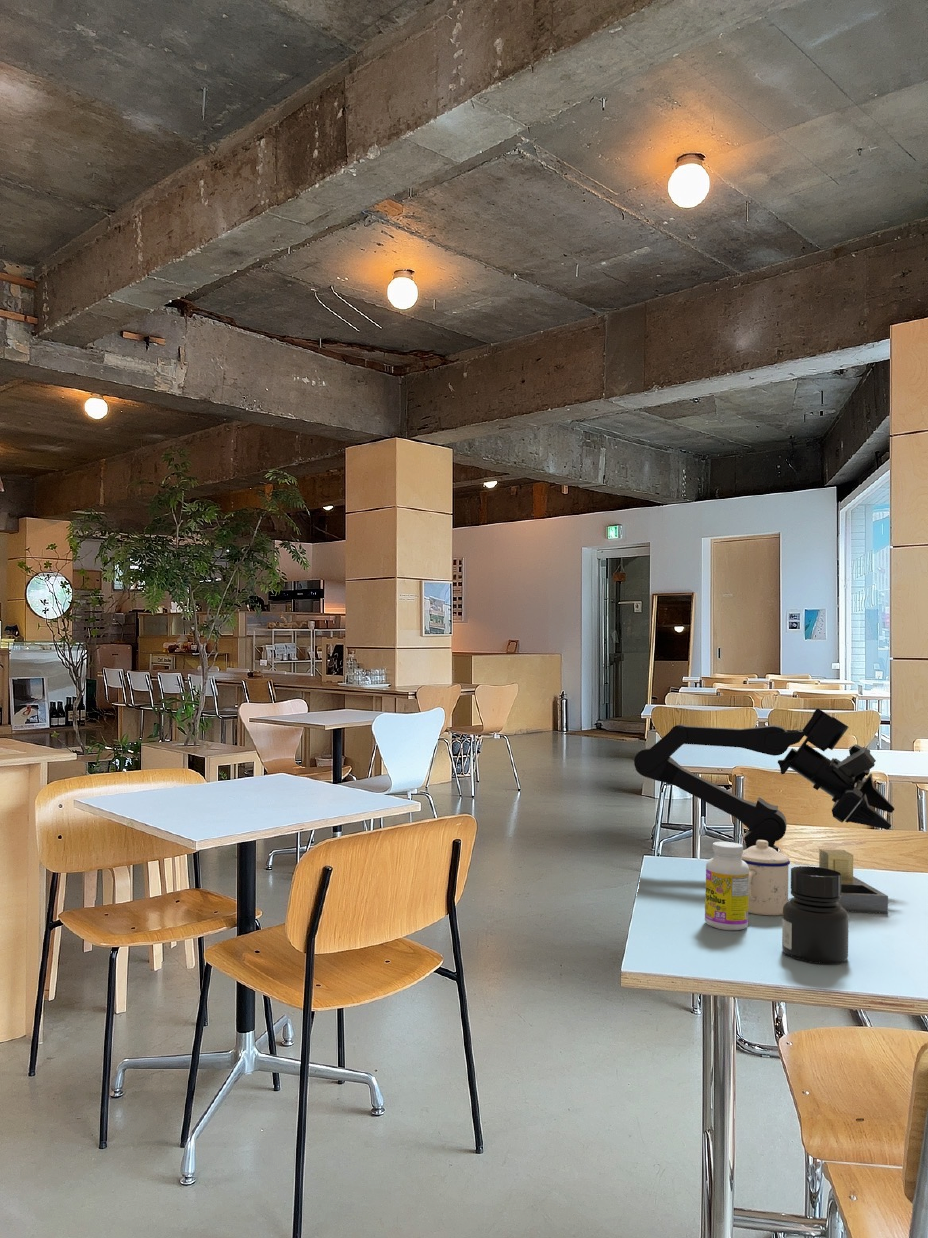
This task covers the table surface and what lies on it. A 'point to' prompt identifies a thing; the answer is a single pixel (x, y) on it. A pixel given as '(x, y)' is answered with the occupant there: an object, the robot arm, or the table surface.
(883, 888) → the table surface
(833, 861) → the pale yellow block
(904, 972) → the table surface
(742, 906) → the supplement bottle
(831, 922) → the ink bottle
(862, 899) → the dark grey tray
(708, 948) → the table surface
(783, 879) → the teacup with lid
